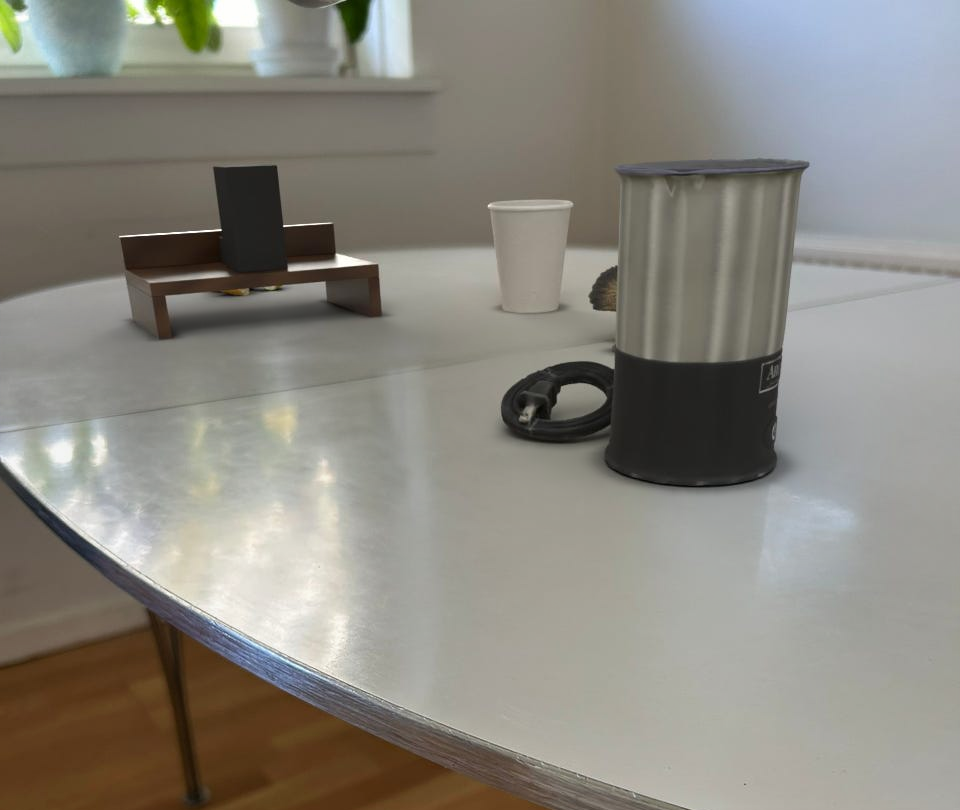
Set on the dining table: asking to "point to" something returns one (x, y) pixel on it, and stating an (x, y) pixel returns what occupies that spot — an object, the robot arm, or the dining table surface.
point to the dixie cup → (530, 252)
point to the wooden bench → (198, 268)
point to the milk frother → (687, 325)
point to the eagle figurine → (605, 292)
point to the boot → (250, 218)
